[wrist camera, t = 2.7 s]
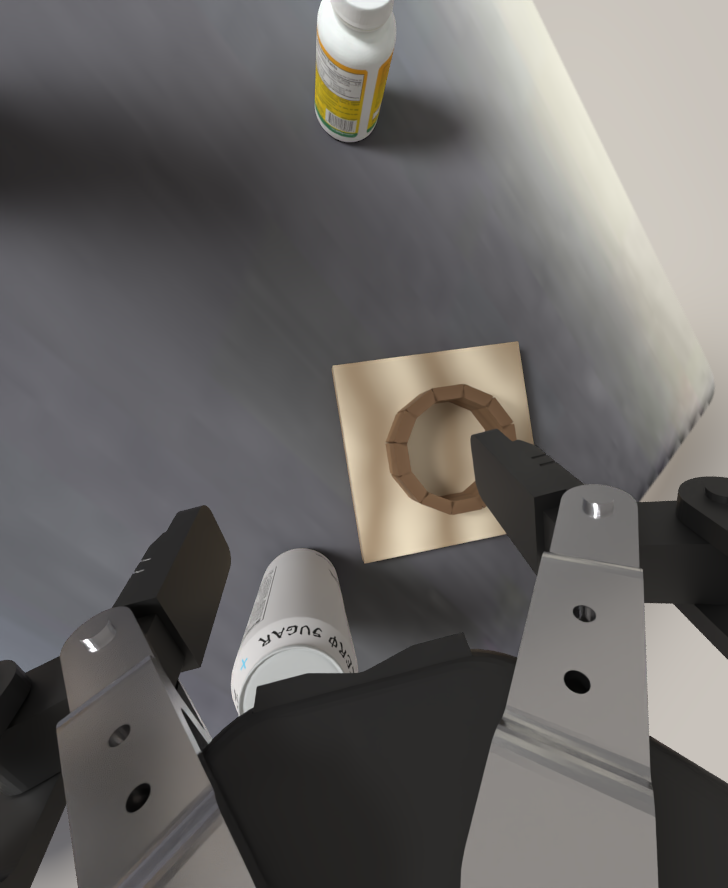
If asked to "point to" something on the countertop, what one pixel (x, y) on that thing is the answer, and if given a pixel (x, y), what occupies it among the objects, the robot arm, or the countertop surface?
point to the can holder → (425, 443)
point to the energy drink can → (293, 626)
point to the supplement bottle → (352, 64)
